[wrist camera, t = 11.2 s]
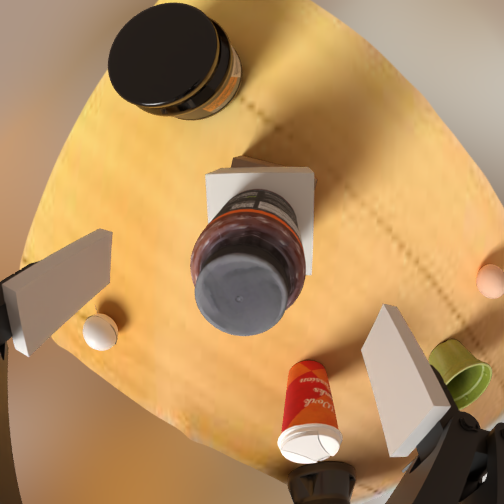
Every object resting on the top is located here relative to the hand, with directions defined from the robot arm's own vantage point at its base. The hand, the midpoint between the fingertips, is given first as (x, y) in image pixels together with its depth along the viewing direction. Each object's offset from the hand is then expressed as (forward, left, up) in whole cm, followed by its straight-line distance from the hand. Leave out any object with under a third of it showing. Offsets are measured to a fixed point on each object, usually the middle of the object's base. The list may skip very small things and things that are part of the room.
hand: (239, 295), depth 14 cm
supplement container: (+12, +11, -23) cm, 28 cm away
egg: (-1, -32, -23) cm, 39 cm away
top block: (0, 0, -17) cm, 17 cm away
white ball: (-23, +19, -23) cm, 37 cm away
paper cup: (-23, -12, -23) cm, 34 cm away
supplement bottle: (0, 0, -11) cm, 11 cm away
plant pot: (-15, -33, -23) cm, 43 cm away
